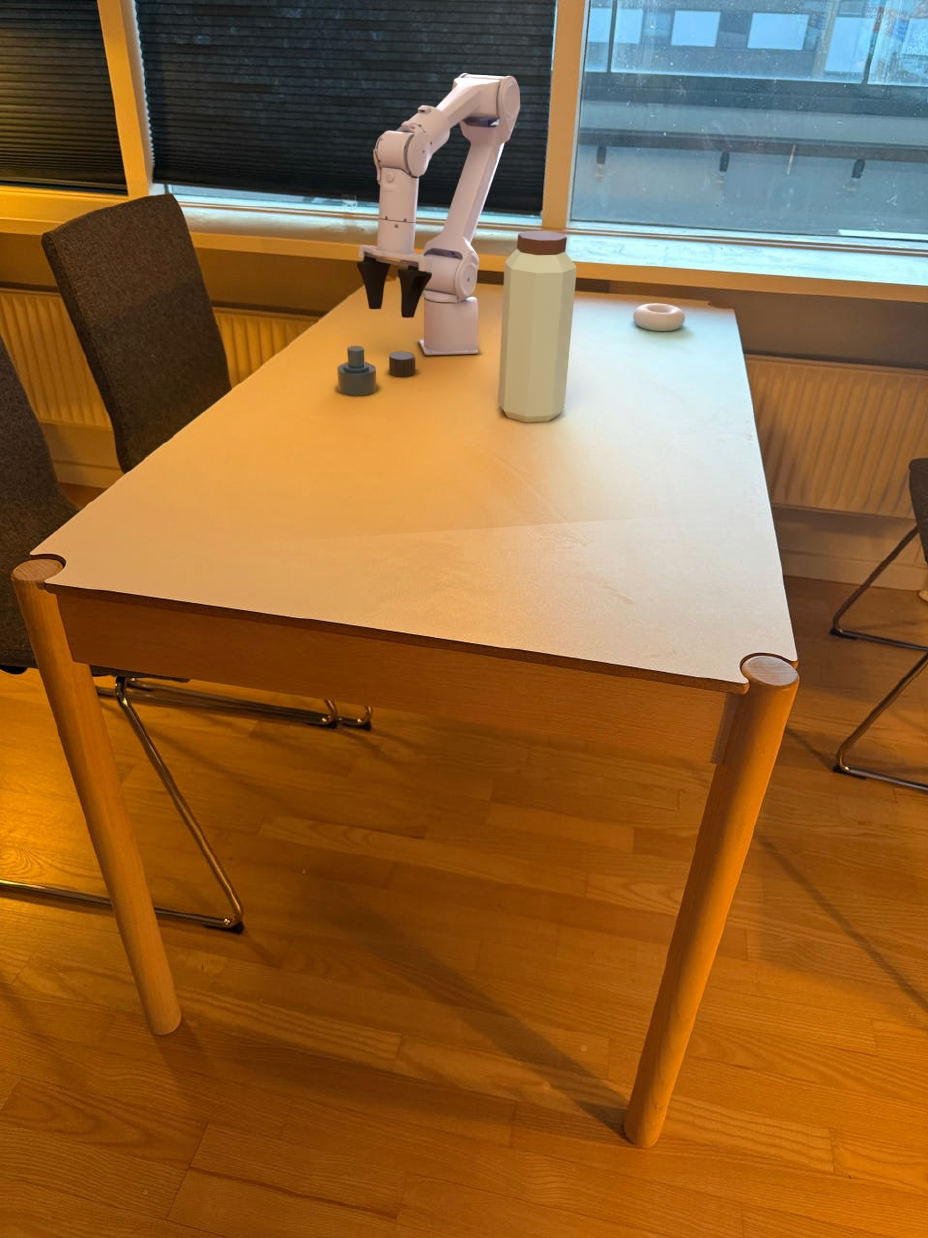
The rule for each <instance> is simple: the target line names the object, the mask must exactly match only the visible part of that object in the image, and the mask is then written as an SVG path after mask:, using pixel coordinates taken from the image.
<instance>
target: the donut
mask: <svg viewBox="0 0 928 1238" xmlns="http://www.w3.org/2000/svg"><path fill="white" fill-rule="evenodd" d="M632 319H633V321H634V323H635V325H636V326H637V327H640V328H641V329H644V330H647V331H648V330H649V331H654V332H670V331H671V332H672V331H675V330H678V329H680V328H682V326H683V325H684V323H685V320H686V316H685V313H684V311H683V310H682V309H680V308H679V307H677V306H674V305H671V304H665V303H646V304H641V305H639V306H638V307H636V309H635V310H634V311H633V313H632Z"/></svg>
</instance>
